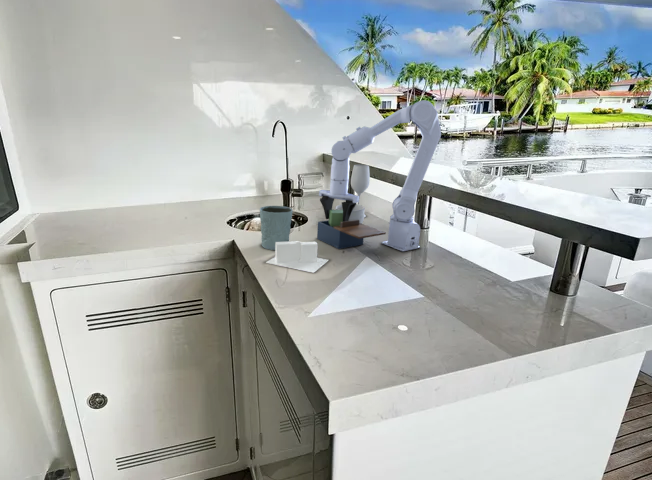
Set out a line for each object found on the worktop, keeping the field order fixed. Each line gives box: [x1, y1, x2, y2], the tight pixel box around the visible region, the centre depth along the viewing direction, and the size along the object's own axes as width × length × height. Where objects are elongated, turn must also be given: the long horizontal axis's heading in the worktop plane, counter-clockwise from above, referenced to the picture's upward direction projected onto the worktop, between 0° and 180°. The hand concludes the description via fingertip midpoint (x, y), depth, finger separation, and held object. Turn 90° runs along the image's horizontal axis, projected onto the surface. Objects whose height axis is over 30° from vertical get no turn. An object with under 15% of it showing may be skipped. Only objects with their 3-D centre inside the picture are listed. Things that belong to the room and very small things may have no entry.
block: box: [328, 209, 343, 227], centre depth 126 cm, size 5×5×5 cm
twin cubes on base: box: [265, 240, 329, 274], centre depth 107 cm, size 15×11×6 cm
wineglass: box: [350, 164, 371, 218], centre depth 157 cm, size 8×8×21 cm
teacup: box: [334, 204, 366, 224], centre depth 144 cm, size 14×11×8 cm
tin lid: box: [333, 219, 387, 239], centre depth 117 cm, size 12×10×2 cm
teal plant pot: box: [259, 205, 294, 251], centre depth 119 cm, size 10×10×12 cm
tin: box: [316, 219, 364, 250], centre depth 126 cm, size 12×10×6 cm
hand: (336, 220), depth 126 cm, fingers closed on block, 6 cm apart
